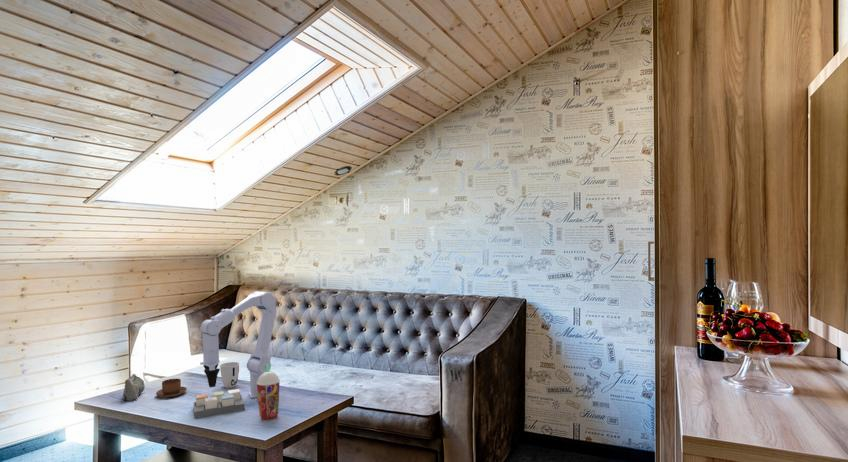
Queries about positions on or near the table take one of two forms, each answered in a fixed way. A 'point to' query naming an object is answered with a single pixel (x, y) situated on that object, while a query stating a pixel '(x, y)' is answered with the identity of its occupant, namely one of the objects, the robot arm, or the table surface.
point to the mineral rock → (133, 387)
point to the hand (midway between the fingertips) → (211, 384)
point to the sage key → (218, 396)
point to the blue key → (227, 400)
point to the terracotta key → (201, 399)
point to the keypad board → (218, 409)
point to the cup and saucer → (171, 388)
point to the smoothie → (268, 395)
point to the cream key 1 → (210, 403)
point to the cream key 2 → (235, 394)
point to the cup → (229, 374)
